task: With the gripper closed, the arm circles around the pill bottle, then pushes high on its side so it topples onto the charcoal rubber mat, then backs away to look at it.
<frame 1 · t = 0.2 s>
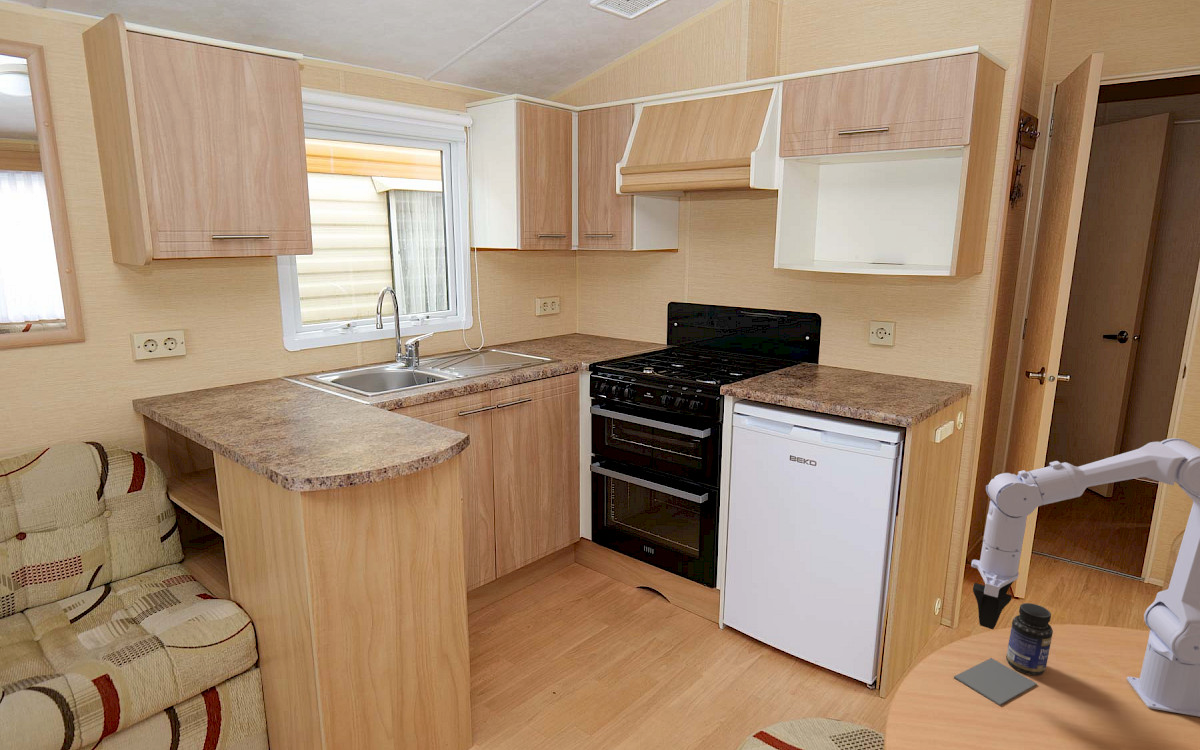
hand: (989, 616, 121), 10 cm above the table, tool pointing down, fingers open, 7 cm apart
rubber mat: (995, 681, 120), on the table
pill bottle: (1024, 666, 124), on the table
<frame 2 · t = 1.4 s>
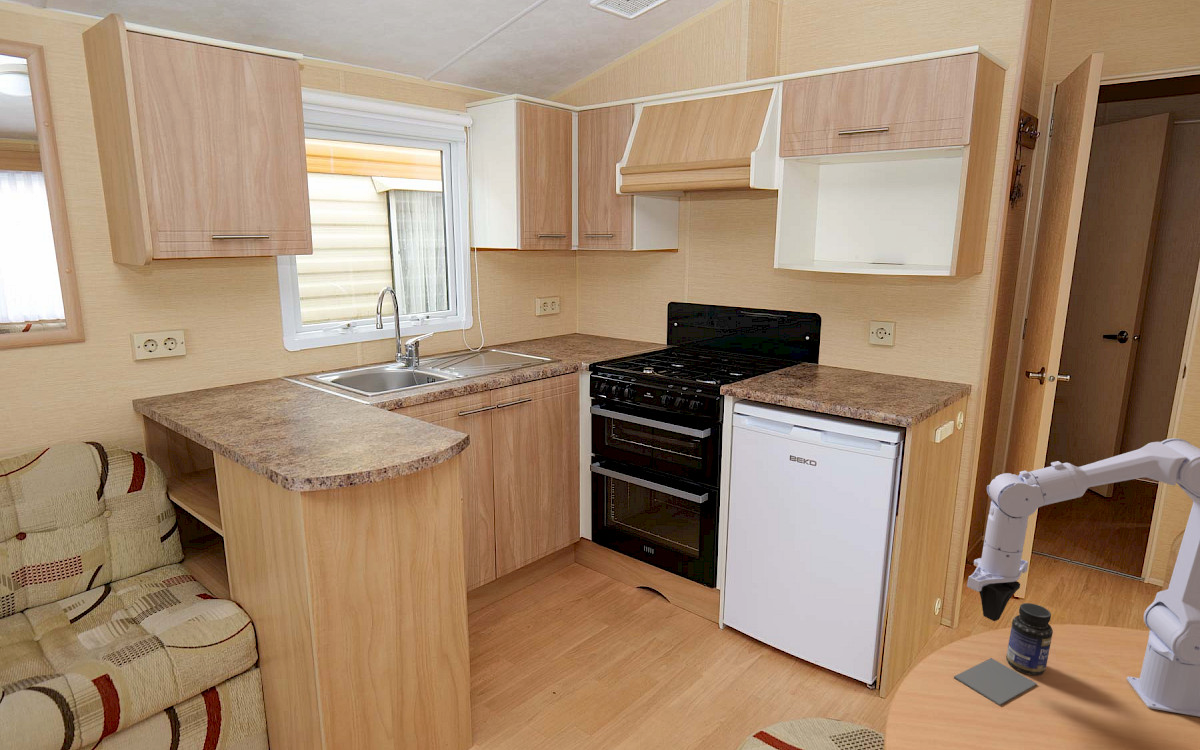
hand: (991, 617, 120), 10 cm above the table, tool pointing down, fingers closed
nothing on the table moved.
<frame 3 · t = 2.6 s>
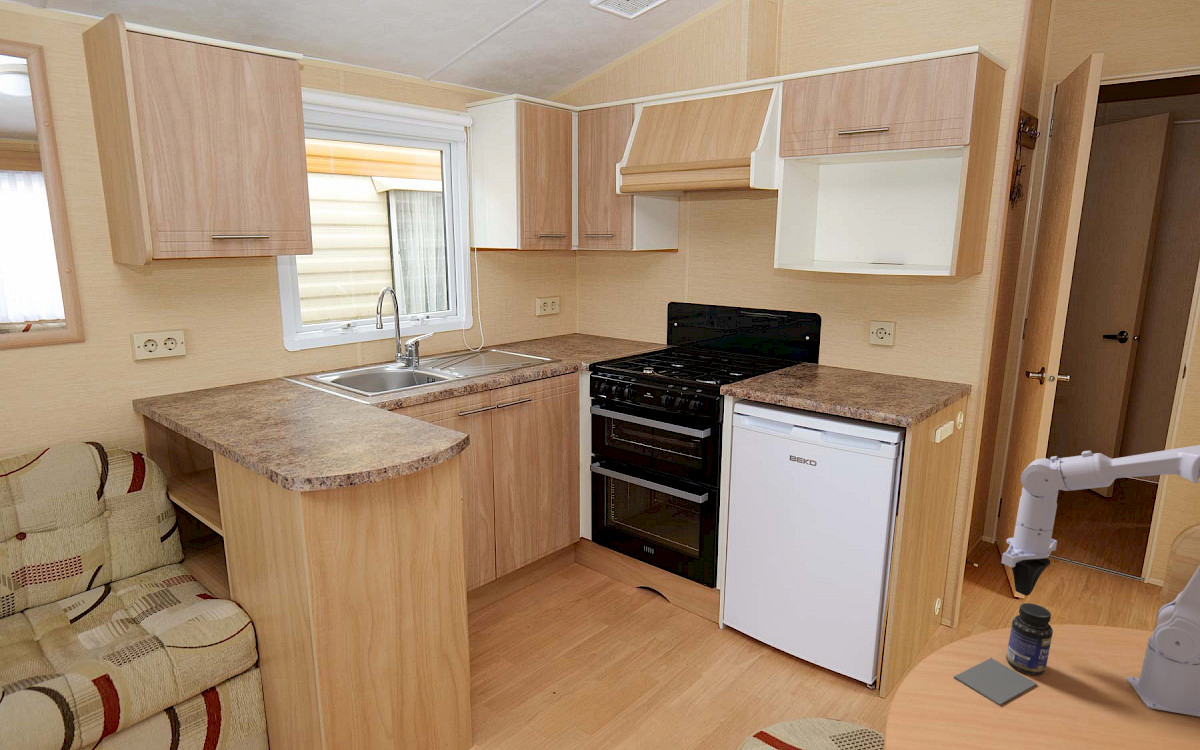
hand: (1022, 592, 129), 10 cm above the table, tool pointing down, fingers closed
nothing on the table moved.
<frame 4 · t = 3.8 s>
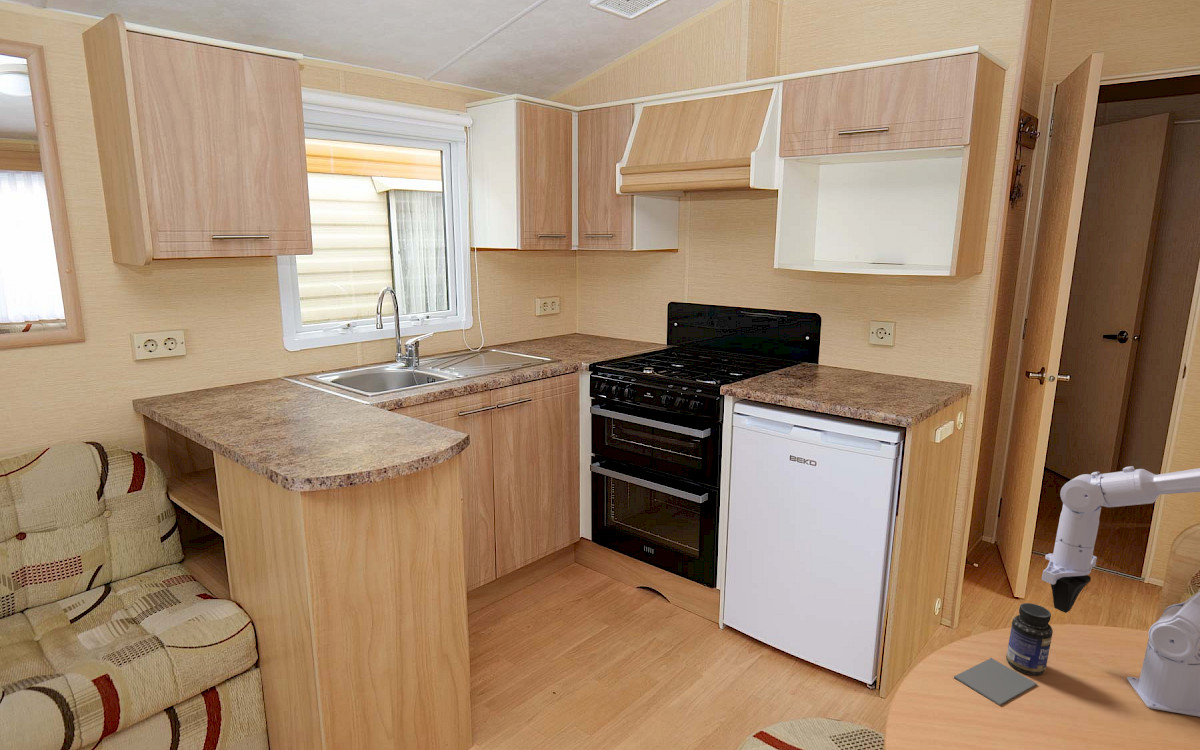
hand: (1061, 609, 127), 8 cm above the table, tool pointing down, fingers closed
nothing on the table moved.
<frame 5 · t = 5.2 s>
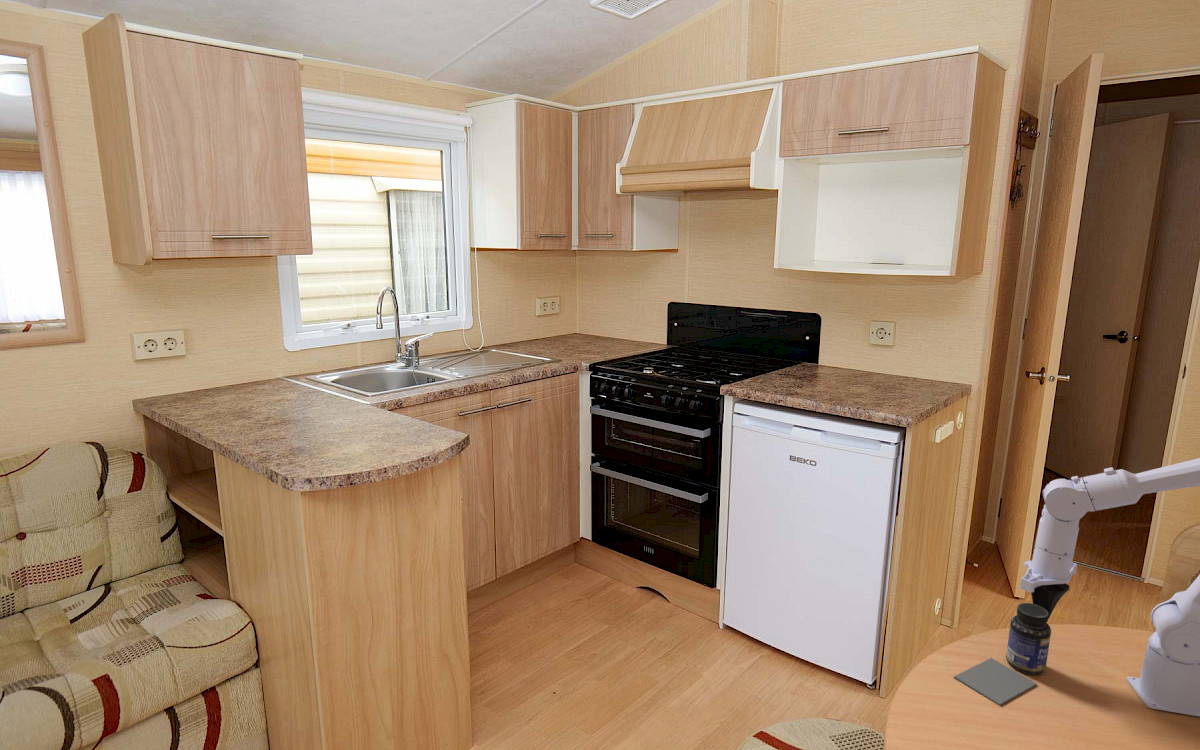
hand: (1040, 618, 124), 9 cm above the table, tool pointing down, fingers closed, pressing on pill bottle
pill bottle: (1025, 665, 124), on the table, touching gripper
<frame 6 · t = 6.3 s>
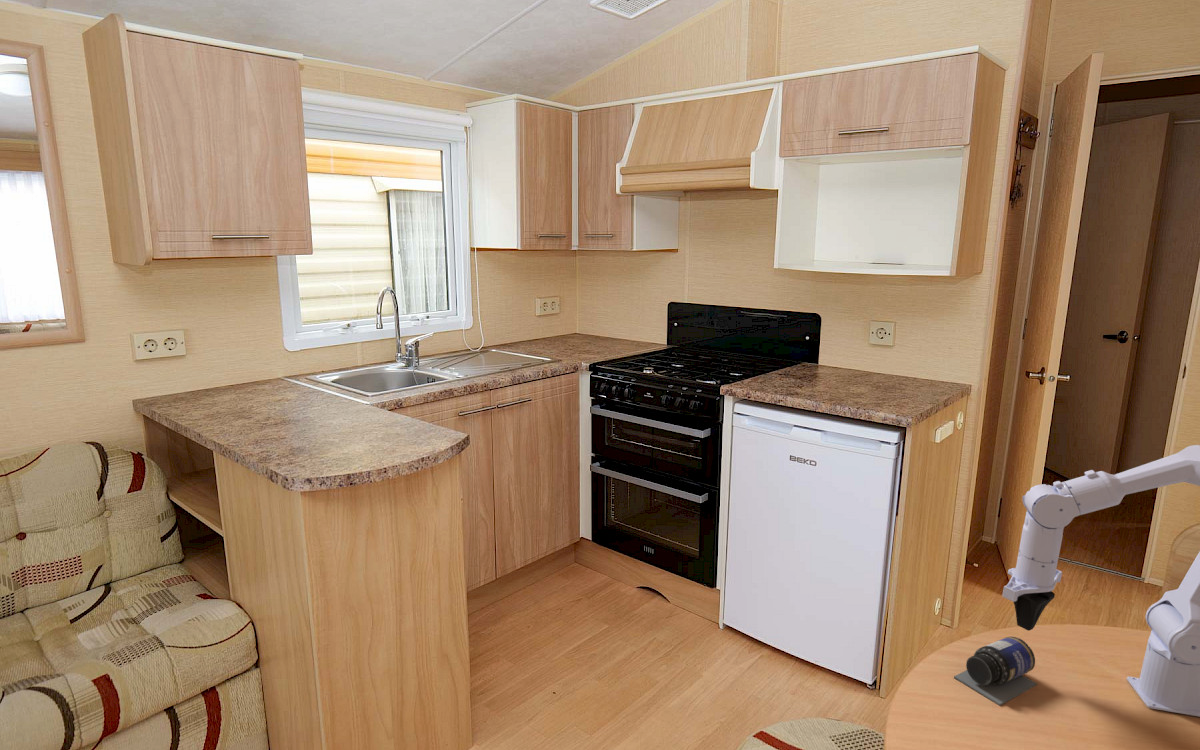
hand: (1025, 626, 121), 8 cm above the table, tool pointing down, fingers closed
pill bottle: (1019, 653, 122), point 3 cm above the table, touching rubber mat
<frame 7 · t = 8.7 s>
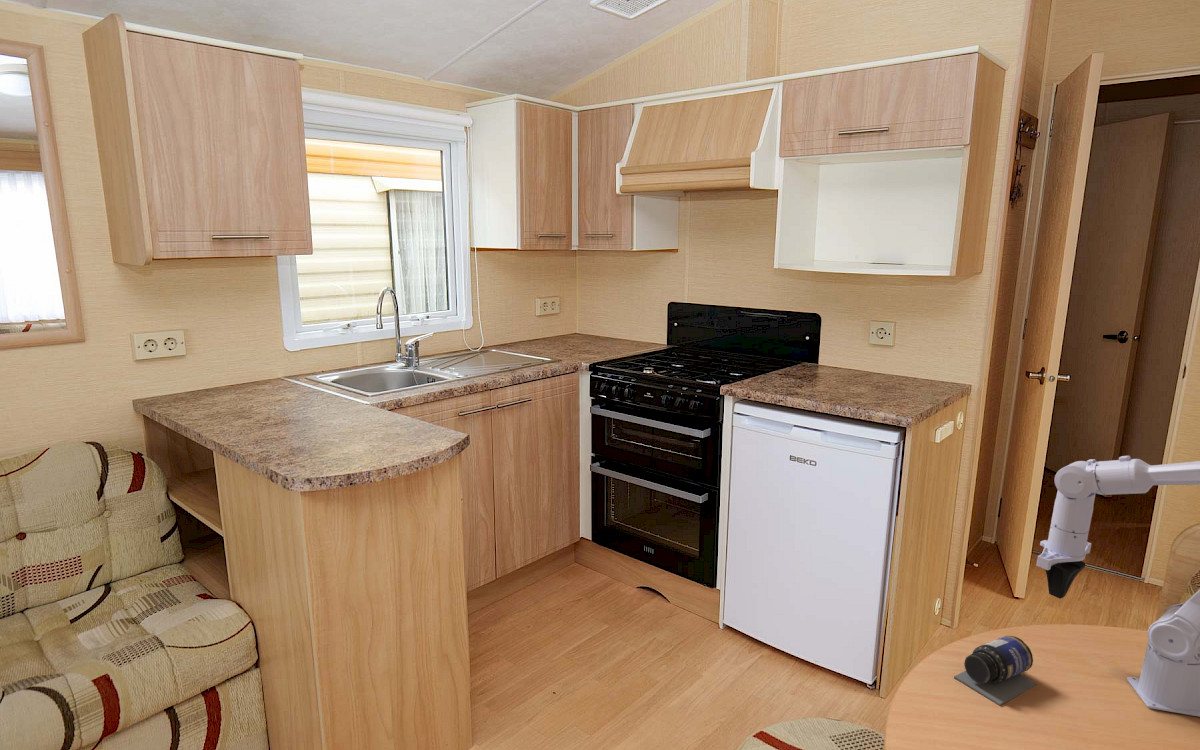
hand: (1056, 595, 128), 10 cm above the table, tool pointing down, fingers closed
nothing on the table moved.
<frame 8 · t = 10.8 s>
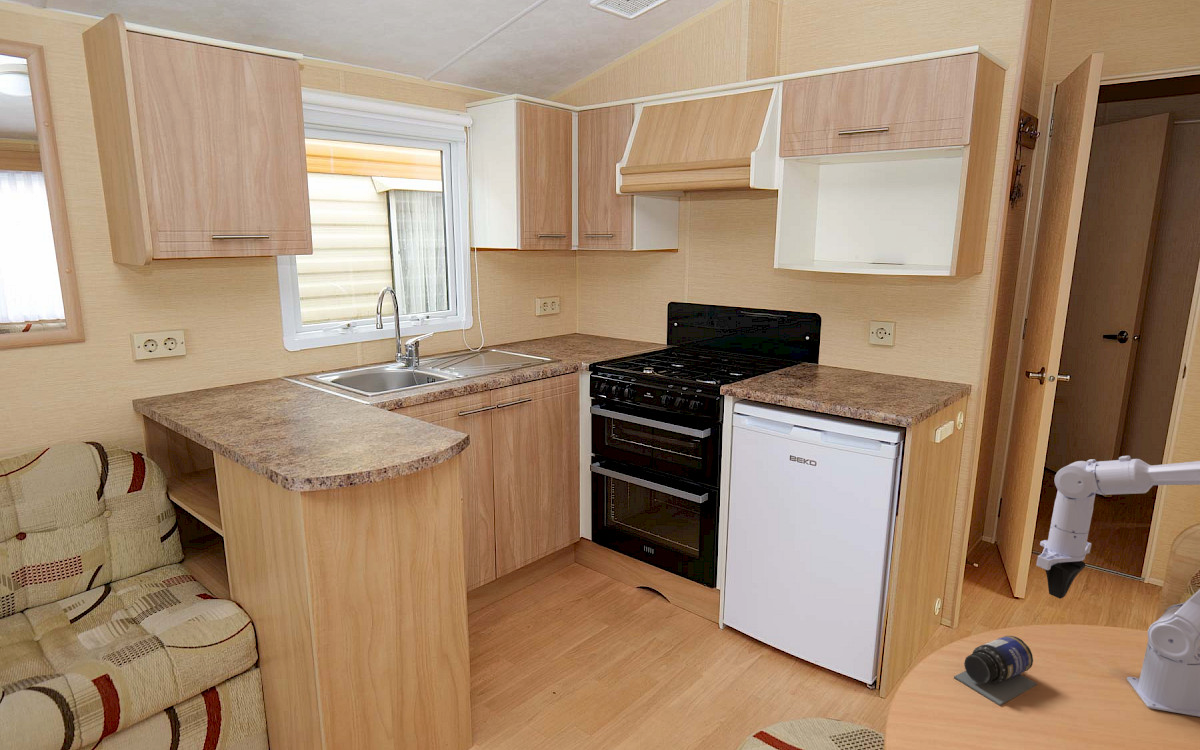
hand: (1056, 595, 128), 10 cm above the table, tool pointing down, fingers closed
nothing on the table moved.
at the end: pill bottle tilted 90°; pill bottle touching rubber mat; pill bottle inside the target area (3.3 cm from its centre), point 3.3 cm above the table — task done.
